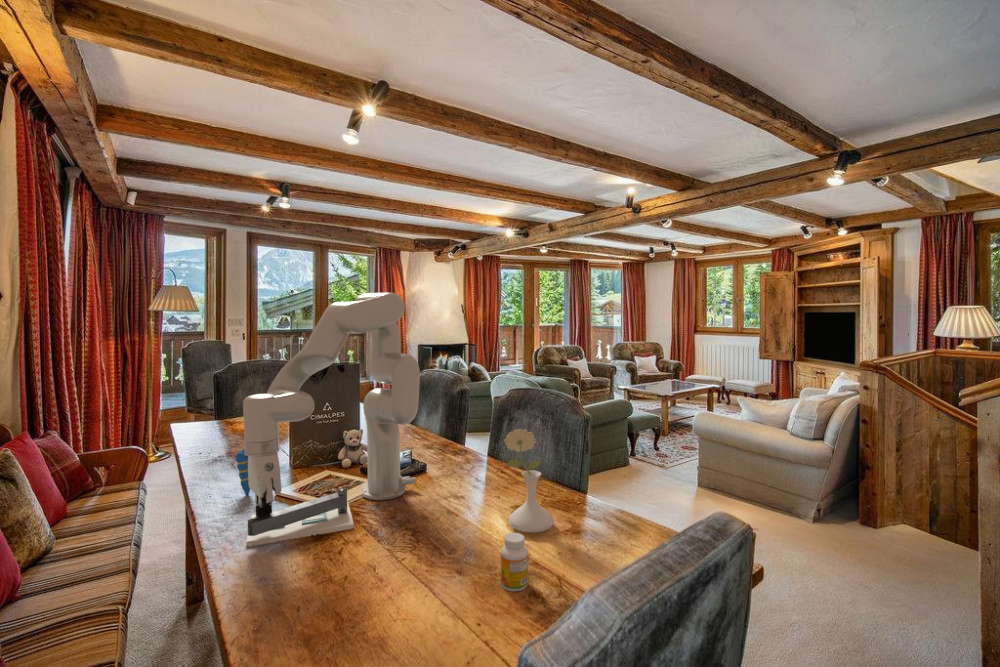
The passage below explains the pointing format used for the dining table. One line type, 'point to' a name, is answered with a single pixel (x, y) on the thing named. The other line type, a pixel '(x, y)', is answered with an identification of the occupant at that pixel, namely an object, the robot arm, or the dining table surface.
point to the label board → (306, 527)
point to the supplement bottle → (514, 563)
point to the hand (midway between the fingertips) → (264, 520)
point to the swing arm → (298, 512)
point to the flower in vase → (530, 512)
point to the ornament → (243, 470)
